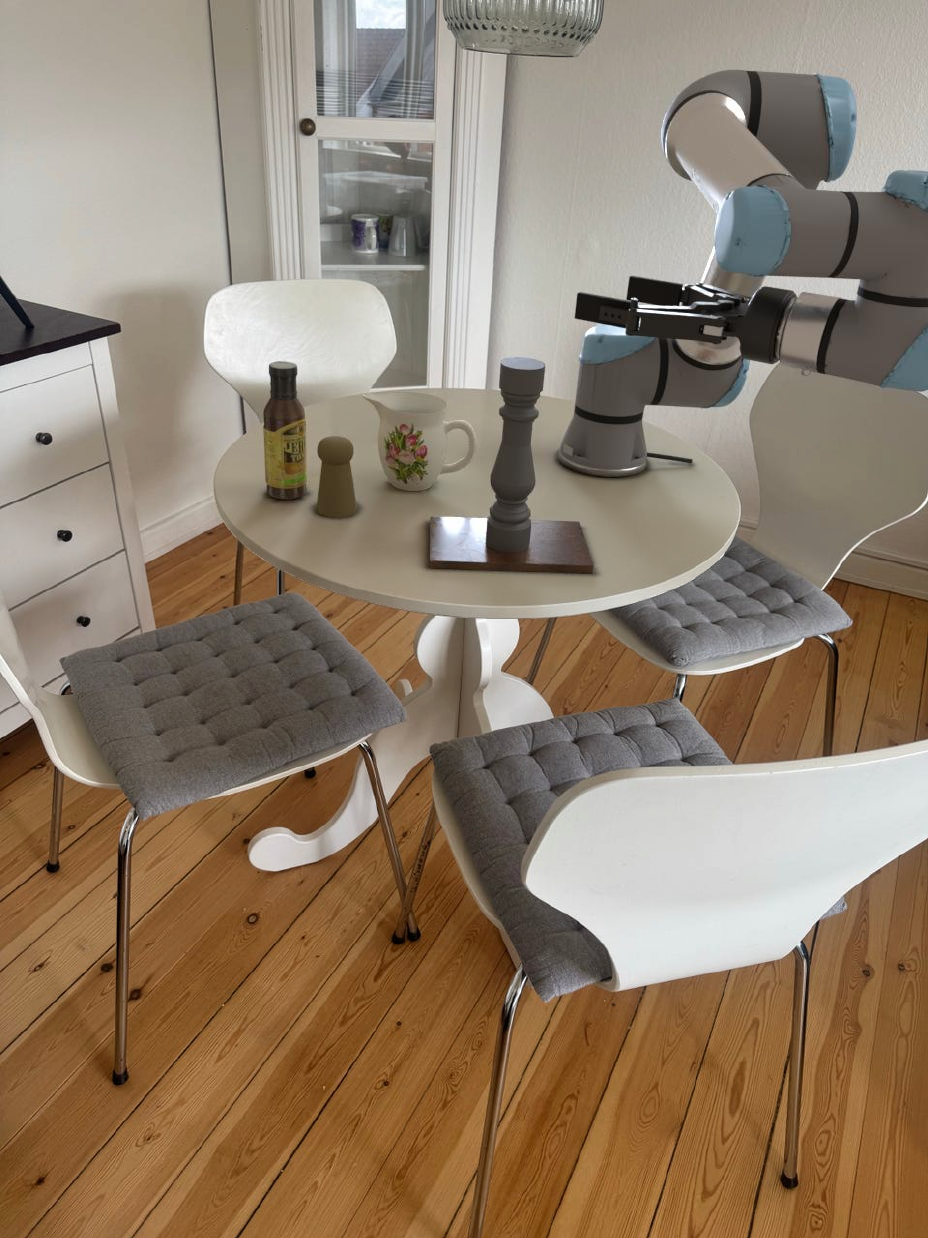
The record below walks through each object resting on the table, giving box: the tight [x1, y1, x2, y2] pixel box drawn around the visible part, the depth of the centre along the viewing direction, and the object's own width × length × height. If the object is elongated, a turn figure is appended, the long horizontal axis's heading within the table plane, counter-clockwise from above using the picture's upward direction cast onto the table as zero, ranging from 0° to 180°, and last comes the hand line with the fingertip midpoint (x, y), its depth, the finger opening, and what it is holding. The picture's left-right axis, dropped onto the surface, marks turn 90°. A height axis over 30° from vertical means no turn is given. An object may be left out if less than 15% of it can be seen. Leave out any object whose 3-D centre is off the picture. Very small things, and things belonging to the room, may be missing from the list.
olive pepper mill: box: [316, 435, 358, 518], centre depth 134 cm, size 6×6×11 cm
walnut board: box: [429, 515, 594, 574], centre depth 128 cm, size 22×14×1 cm, turn 92°
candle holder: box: [486, 356, 546, 553], centre depth 121 cm, size 6×6×25 cm
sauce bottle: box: [262, 360, 308, 500], centre depth 136 cm, size 6×6×20 cm
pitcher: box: [362, 391, 477, 492], centre depth 143 cm, size 11×18×14 cm, turn 83°
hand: (604, 295), depth 105 cm, fingers open, 13 cm apart
